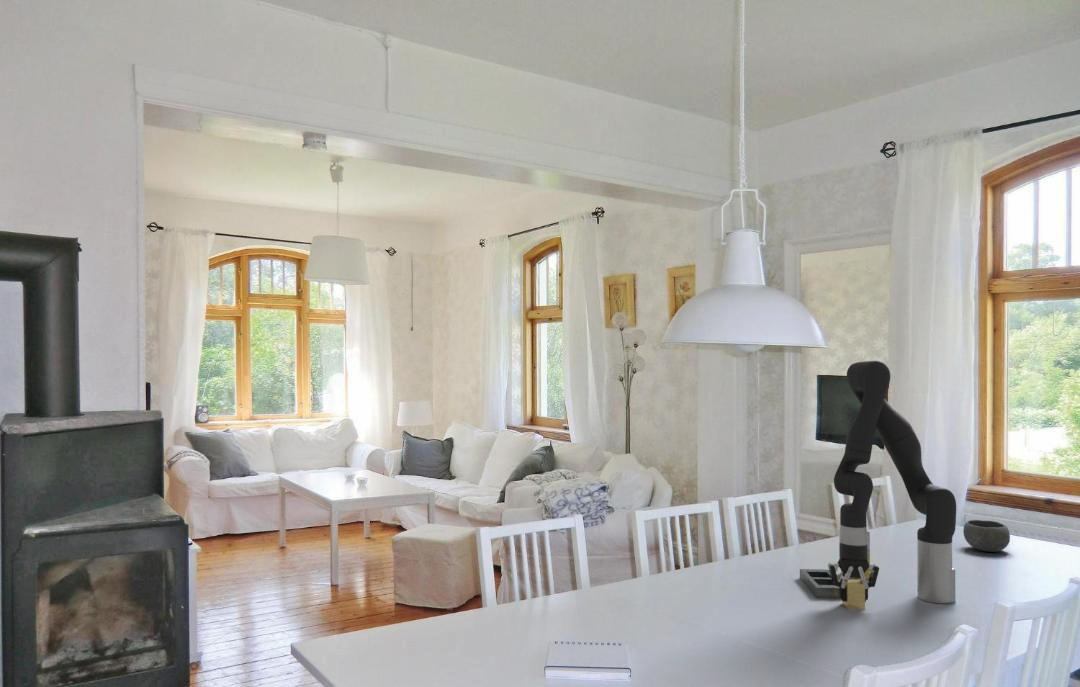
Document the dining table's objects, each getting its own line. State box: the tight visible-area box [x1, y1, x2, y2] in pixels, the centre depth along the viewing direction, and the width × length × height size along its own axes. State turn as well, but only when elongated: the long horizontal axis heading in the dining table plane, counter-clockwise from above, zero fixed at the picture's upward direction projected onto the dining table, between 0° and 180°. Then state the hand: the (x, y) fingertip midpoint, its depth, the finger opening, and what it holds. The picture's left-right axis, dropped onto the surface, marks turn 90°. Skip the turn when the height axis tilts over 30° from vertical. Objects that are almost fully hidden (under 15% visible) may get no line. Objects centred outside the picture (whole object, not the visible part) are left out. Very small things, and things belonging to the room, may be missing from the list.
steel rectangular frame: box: [799, 568, 841, 599], centre depth 239 cm, size 9×20×3 cm, turn 175°
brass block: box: [841, 578, 866, 610], centre depth 222 cm, size 5×5×7 cm
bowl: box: [962, 519, 1011, 553], centre depth 286 cm, size 15×15×10 cm
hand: (853, 600), depth 222 cm, fingers open, 5 cm apart
